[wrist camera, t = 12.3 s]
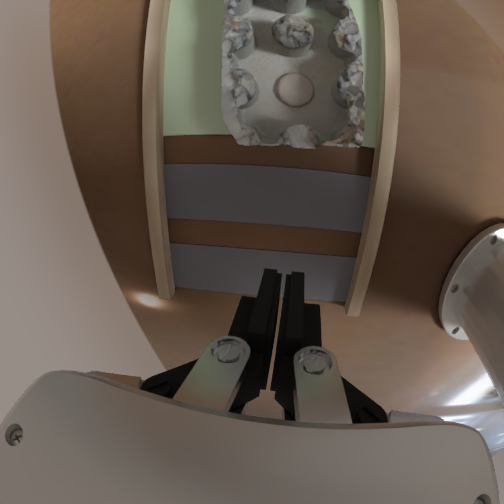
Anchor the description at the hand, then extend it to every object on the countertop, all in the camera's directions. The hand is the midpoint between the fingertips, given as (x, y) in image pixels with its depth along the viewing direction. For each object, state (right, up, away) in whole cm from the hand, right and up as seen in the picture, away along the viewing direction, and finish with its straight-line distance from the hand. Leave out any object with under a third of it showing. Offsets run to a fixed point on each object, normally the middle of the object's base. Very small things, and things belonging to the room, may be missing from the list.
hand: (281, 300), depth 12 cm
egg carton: (+1, +14, +3) cm, 14 cm away
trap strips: (-1, +3, +8) cm, 8 cm away
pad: (0, +15, +2) cm, 15 cm away
